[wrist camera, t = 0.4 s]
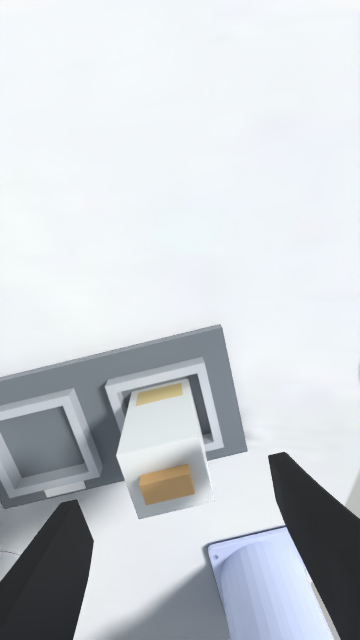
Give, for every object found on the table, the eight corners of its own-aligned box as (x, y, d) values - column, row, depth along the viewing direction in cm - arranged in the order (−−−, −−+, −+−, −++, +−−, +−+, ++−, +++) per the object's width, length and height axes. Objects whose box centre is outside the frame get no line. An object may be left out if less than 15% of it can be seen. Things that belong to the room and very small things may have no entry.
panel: (244, 443, 21) (251, 461, 19) (10, 499, 21) (-4, 521, 19) (219, 324, 18) (225, 331, 17) (-46, 388, 19) (-68, 402, 17)
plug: (200, 427, 19) (217, 512, 13) (146, 439, 20) (137, 531, 13) (188, 378, 18) (199, 444, 12) (131, 391, 19) (113, 465, 12)
